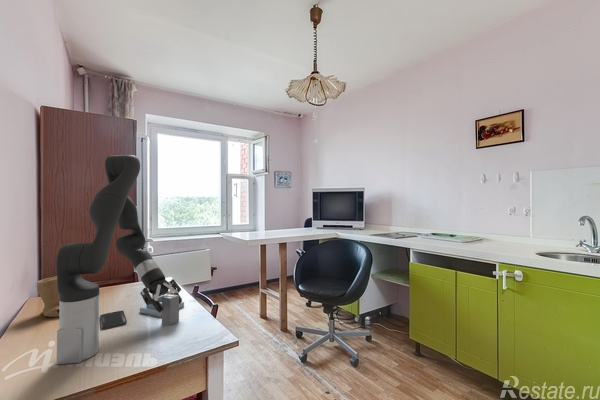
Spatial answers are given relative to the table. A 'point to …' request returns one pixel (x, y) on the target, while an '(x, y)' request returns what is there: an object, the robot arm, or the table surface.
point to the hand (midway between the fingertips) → (171, 306)
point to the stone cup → (49, 296)
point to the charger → (170, 309)
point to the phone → (112, 319)
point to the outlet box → (151, 309)
